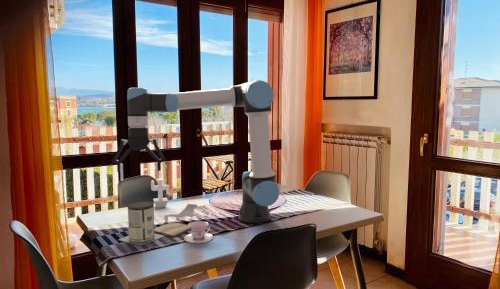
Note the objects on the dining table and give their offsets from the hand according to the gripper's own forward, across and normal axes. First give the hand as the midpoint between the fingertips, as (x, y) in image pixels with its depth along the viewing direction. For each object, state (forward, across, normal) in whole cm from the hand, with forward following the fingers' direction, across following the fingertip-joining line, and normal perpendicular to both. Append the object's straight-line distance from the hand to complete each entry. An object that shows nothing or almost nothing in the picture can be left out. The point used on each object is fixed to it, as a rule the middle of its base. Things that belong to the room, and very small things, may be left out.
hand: (139, 179), depth 149 cm
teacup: (+25, +23, -6) cm, 34 cm away
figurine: (+25, +8, +47) cm, 54 cm away
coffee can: (+24, 0, 0) cm, 24 cm away
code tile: (+24, 0, 0) cm, 24 cm away
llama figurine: (+25, +20, +20) cm, 37 cm away
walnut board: (+24, +13, +7) cm, 28 cm away
